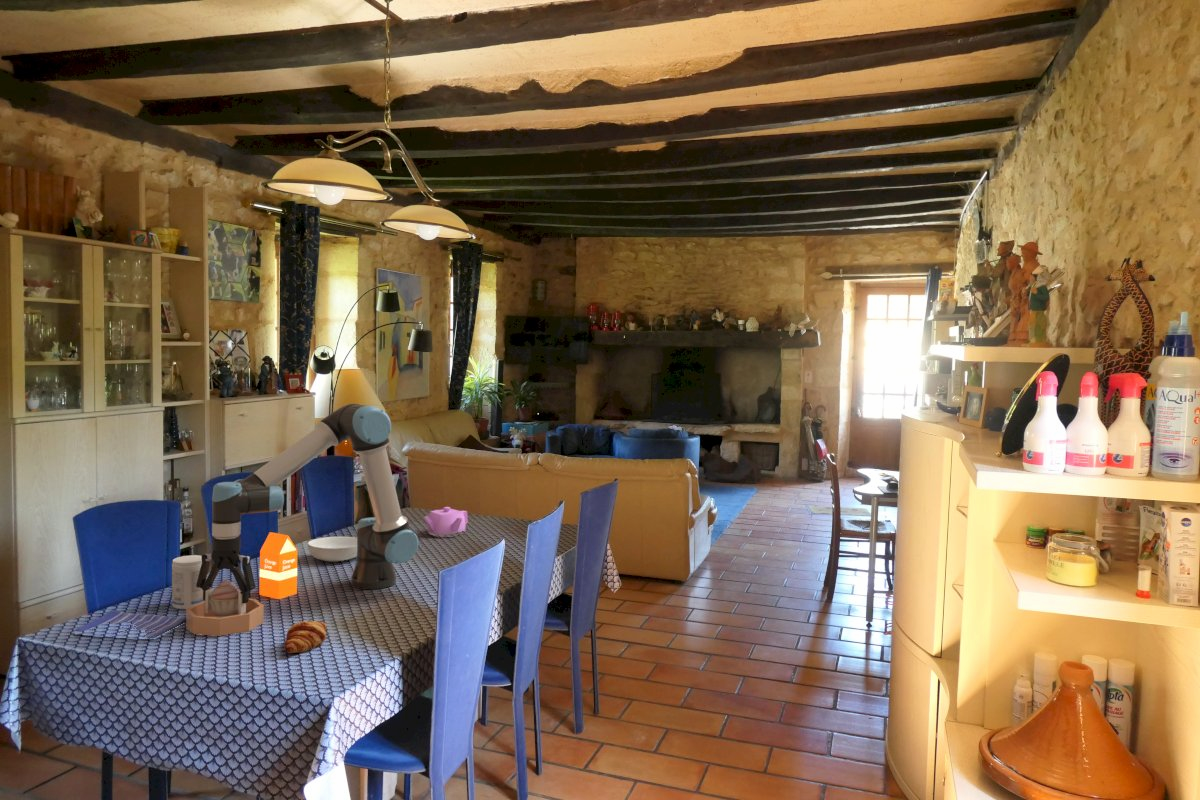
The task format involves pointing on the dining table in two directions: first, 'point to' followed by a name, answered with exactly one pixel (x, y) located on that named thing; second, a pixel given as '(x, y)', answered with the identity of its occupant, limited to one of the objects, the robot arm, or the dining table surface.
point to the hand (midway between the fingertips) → (225, 612)
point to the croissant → (305, 636)
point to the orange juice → (278, 567)
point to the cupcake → (225, 599)
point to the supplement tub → (186, 581)
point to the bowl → (224, 620)
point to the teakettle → (446, 521)
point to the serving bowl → (333, 548)
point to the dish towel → (138, 622)
